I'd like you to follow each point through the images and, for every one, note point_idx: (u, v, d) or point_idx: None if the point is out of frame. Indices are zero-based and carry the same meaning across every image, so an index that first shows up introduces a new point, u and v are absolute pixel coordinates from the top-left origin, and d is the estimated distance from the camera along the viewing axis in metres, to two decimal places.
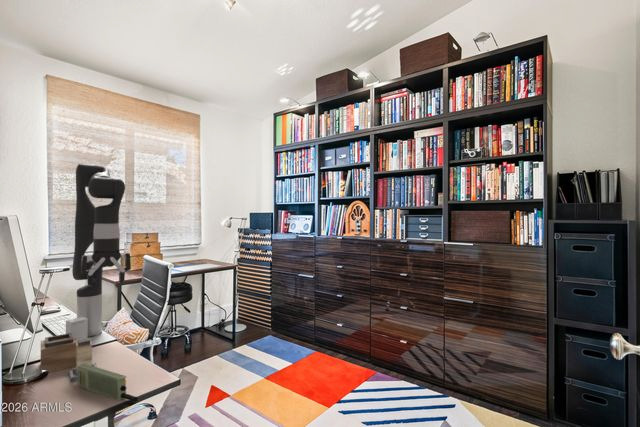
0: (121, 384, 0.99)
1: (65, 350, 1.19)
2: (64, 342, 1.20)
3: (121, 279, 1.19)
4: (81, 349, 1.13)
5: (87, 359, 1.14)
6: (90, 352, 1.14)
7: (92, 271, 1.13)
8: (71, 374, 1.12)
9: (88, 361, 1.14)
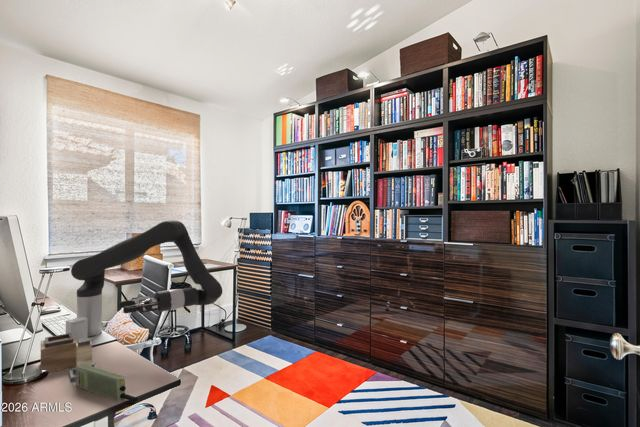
0: (120, 384, 0.99)
1: (65, 350, 1.19)
2: (64, 342, 1.20)
3: None
4: (81, 349, 1.13)
5: (87, 359, 1.14)
6: (90, 352, 1.14)
7: None
8: (71, 374, 1.12)
9: (88, 361, 1.14)
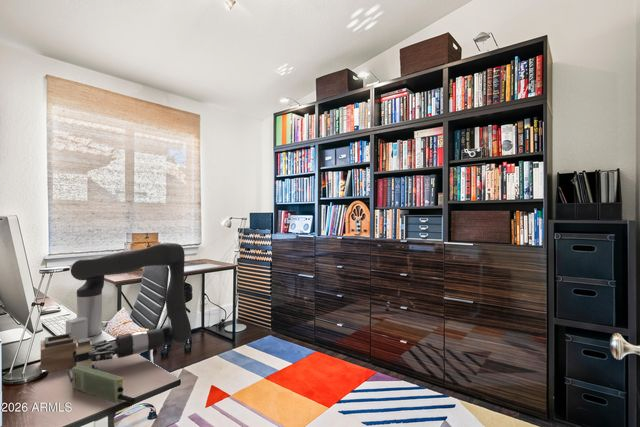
0: (118, 385, 0.99)
1: (65, 350, 1.19)
2: (64, 342, 1.20)
3: None
4: (81, 349, 1.13)
5: None
6: None
7: None
8: (71, 374, 1.12)
9: (88, 361, 1.14)
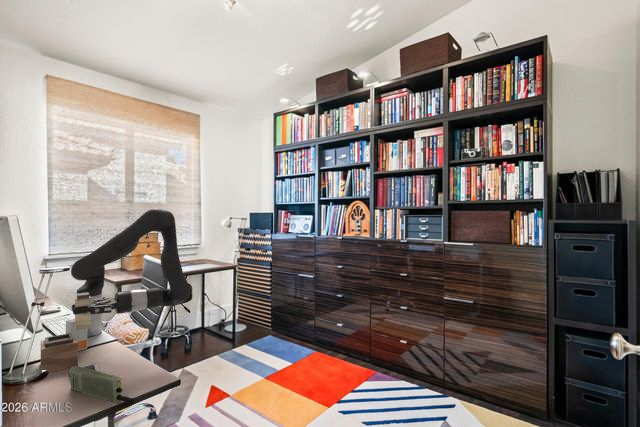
0: (117, 386, 0.98)
1: (65, 350, 1.19)
2: (64, 342, 1.20)
3: None
4: (80, 302, 1.13)
5: None
6: None
7: None
8: None
9: (87, 315, 1.14)
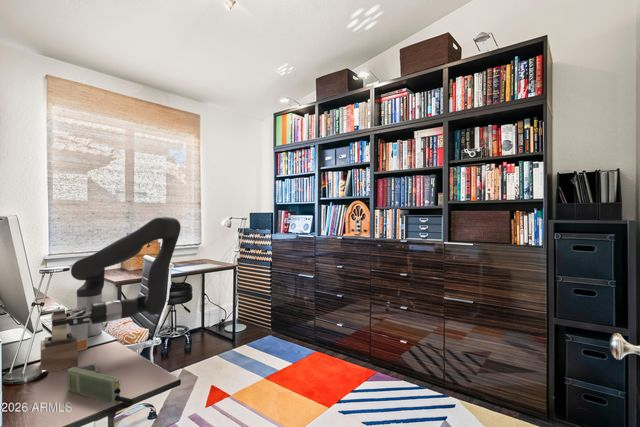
0: (115, 387, 0.98)
1: (65, 350, 1.19)
2: (64, 342, 1.20)
3: None
4: (56, 318, 1.20)
5: (62, 327, 1.21)
6: None
7: None
8: None
9: (63, 330, 1.21)
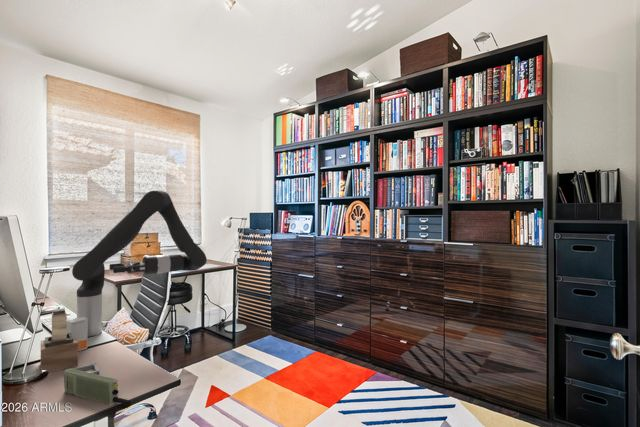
0: (113, 388, 0.97)
1: (65, 350, 1.19)
2: (64, 342, 1.20)
3: None
4: (56, 318, 1.20)
5: (62, 327, 1.21)
6: (65, 321, 1.21)
7: None
8: None
9: (63, 330, 1.21)
